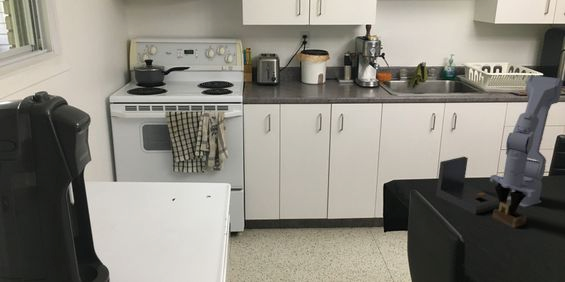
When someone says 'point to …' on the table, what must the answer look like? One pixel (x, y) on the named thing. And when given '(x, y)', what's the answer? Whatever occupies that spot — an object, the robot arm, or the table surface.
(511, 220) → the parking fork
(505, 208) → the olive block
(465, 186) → the dark grey l-shaped block
